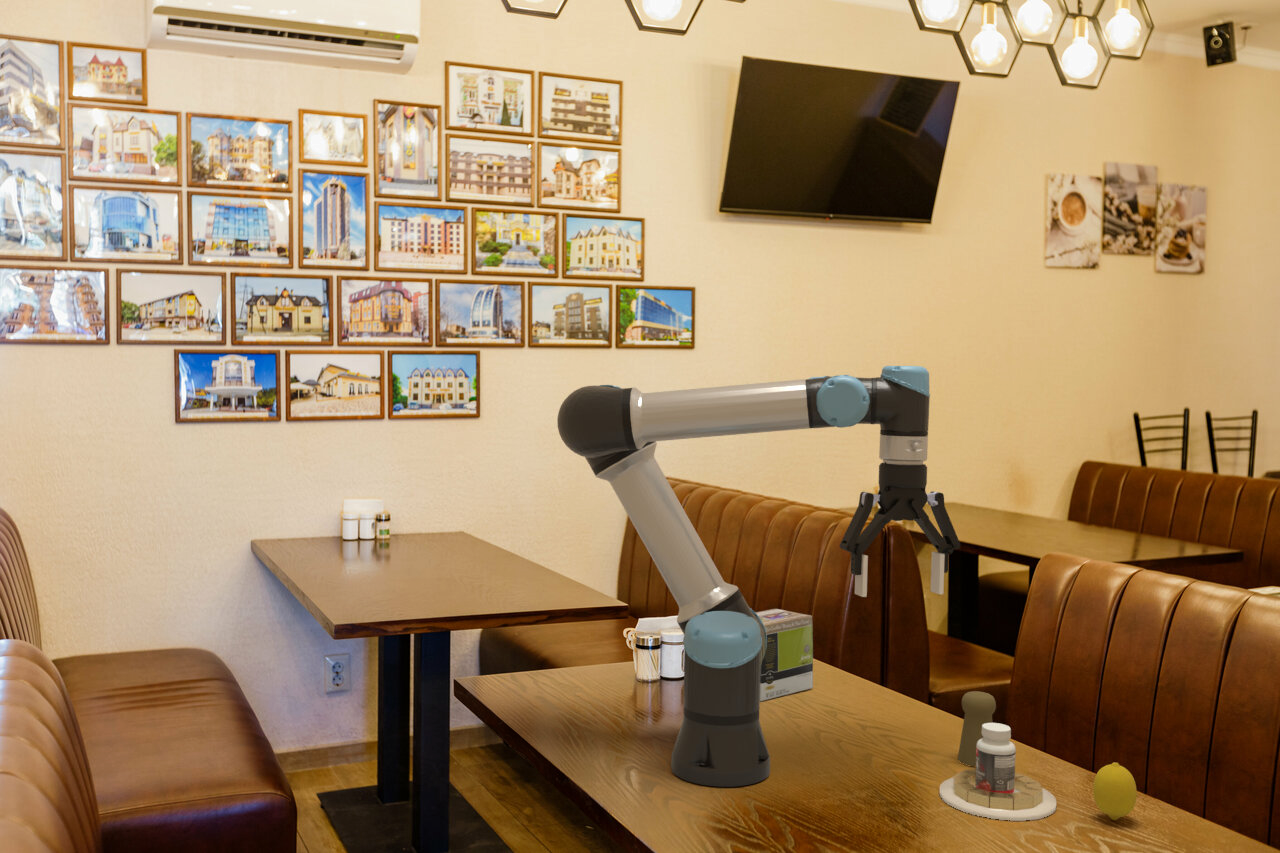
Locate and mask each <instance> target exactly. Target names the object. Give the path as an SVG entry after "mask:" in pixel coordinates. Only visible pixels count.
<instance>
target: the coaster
mask: <svg viewBox="0 0 1280 853" xmlns="http://www.w3.org/2000/svg"><path fill="white" fill-rule="evenodd" d="M974 786H976V785H974ZM1042 790H1043V802H1042V803H1040V804H1039V805H1037V806H1035V807H1034V808H1029V809H1021V810H1004V809H993V808H987V807H983V806H980V805H976V804H972V803H969V802H966V801H965V800H963V799H962V798H960V797H958V796H957V795H955V794H954V788H953V777H950V778H948V779H945V780H944V781H943V782H942V783H940V785H939V797H940V799H941V798H942V799H941V800H942V801H943V802H944V803H945V804H946V803H947V804H946V805H948V806H949V805H950V806H949V807H951V806H952V807H951V808H953V807H954V808H953V809H955V808H956V809H955V810H957V809H958V810H957V811H959V810H961V811H960V812H962V811H963V812H962V813H965V812H966V813H965V814H968V813H970V814H969V815H971V814H972V815H971V816H975V815H977V816H976V817H979V816H982V817H981V818H983V817H987V818H986V819H989V818H991V819H990V820H995V819H999V820H998V821H1004V820H1008V821H1007V822H1027V821H1026V820H1030V821H1036V820H1041V819H1044V817H1045V818H1048V817H1050V816H1051V814H1052V815H1053V814H1055V812H1056V811H1057V799H1056V797H1055V796H1054V795H1053V794H1052V793H1051V792H1050V791H1048V790H1047V789H1046V788H1044V787H1042ZM1017 792H1021V791H1019V790H1017V789H1015V788H1014V793H1017ZM1049 815H1050V816H1049ZM1047 816H1048V817H1047ZM1009 820H1010V821H1009Z"/></svg>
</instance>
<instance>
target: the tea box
mask: <svg viewBox="0 0 1280 853" xmlns="http://www.w3.org/2000/svg"><path fill="white" fill-rule="evenodd" d="M755 612H756V614H757V615H758V616H759V617H760V619H761V620H762V622H763V624H764V627H765V630H766V635H767V648H766V652H765V656H764V658H763V661H762V664H761V669H760V702H763V701H767V700H771V699H775V698H780V697H783V696H788V695H792V694H794V693H798V692H799V693H800V692H802V691H806V690H811V689H813V688H814V670H813V669H814V668H813V667H814V649H813V648H814V642H813V640H814V639H813V638H814V637H813V636H814V634H813V632H814V630H813V627H814V626H813V615H811V614H807V613H806V614H804V613H799V612H794V611H790V610H789V611H788V610H784V609H779V608H771V609H766V610H762V611H755Z"/></svg>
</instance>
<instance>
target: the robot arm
mask: <svg viewBox="0 0 1280 853" xmlns="http://www.w3.org/2000/svg"><path fill="white" fill-rule="evenodd" d="M930 397H931V394H930V372H929V371H928V369H927V368H925V367H924V366H920V365H918V366H917V365H886V366H883V367H882V369H881V373H880V376H879V377H877V376H876V377H855V376H851V375H850V374H840V375H839V374H838V375H834V376H829V375H823V376H811V377H810V378H804V379H791V380H782V381H781V380H780V381H769V382H760V383H758V382H757V383H747V384H735V385H724V386H723V385H722V386H710V387H702V388H700V387H699V388H690V389H678V390H668V391H667V390H666V391H665V390H664V391H655V392H644V393H643V392H642V391H641V390H639V389H638V388H637V387H628V388H621V387H620V386H617V385H614V384H600V385H587V386H583V387H580V388H577V389H576V390H573V392H571V393H570V394H568V396H567V397H566V398H565V399H564V400H563V401H562V403H561V405H560V407H559V409H558V412H557V429H558V434H559V437H560V438H561V440H562V442H563V443H564V444H565V446H566V447H567V448H568V449H569V450H570V451H572V453H573V454H574V453H575V454H576V455H578V456H580V457H584V458H585V459H586V462H587V463H588V465H589V467H590V468H591V470H592V472H593V474H594V476H595V477H596V478H598V479H601V480H604V481H607V482H608V483H609V484H610V486H611V487H612V489H613V491H614V493H615V495H616V496H617V497H618V500H619V501H620V503H621V505H622V507H623V509H624V511H625V512H626V514H627V516H628V518H629V519H630V521H631V523H632V525H633V527H634V528H635V531H636V533H637V534H638V535H639V536H638V537H639V538H640V539H641V541H642V543H643V544H644V546H645V548H646V550H647V551H648V553H649V555H650V557H651V559H652V561H653V562H654V565H655V566H656V568H657V570H658V572H659V574H660V575H661V577H662V579H663V580H664V582H665V584H666V586H667V588H668V589H669V591H670V593H671V595H672V596H673V598H674V600H675V602H676V603H677V606H678V609H679V610H678V614H677V617H676V622H677V624H678V626H679V628H680V631H682V633H683V635H684V636H683V637H682V638H683V640H682V642H683V649H684V660H683V662H684V665H683V666H684V667H683V668H684V669H683V670H684V673H683V677H684V678H683V718H682V722H681V726H680V728H679V732H678V733H677V734H678V735H677V737H676V740H675V743H674V745H673V749H672V752H671V764H670V765H671V766H670V767H671V772H672V773H673V775H675V776H677V777H678V778H680V779H682V780H684V781H687V782H690V783H692V784H697V785H701V786H702V785H703V786H710V787H720V788H721V787H722V788H724V787H726V788H727V787H728V788H729V787H743V786H750V785H753V784H757V783H759V782H760V783H761V781H764V780H766V779H767V778H768V777H769V776H770V773H771V756H770V753H769V749H768V747H767V744H766V740H765V736H764V733H763V729H762V726H761V722H760V706H761V705H760V704H761V703H760V702H761V701H760V669H761V664H762V661H763V658H764V656H765V652H766V648H767V635H766V630H765V627H764V624H763V622H762V620H761V619H760V617H759V616H758V615H757V614H756V612H757V611H754V610H753V609H752V608H751V607H750V606H749V605H748V603H747V600H746V599H745V596H743V593H742V592H741V589H740V588H739V587H738V586H737V585H735V584H731V583H727V582H725V581H724V579H723V577H722V575H721V573H720V571H719V570H718V568H717V566H716V564H715V563H714V561H713V559H712V557H711V555H710V554H709V552H708V550H707V549H706V547H705V545H704V543H703V542H702V539H701V538H700V536H699V534H698V533H697V530H696V529H695V527H694V526H693V523H692V522H691V520H690V518H689V516H688V515H687V513H686V510H684V508H683V506H682V504H681V503H680V501H679V499H678V497H677V495H676V494H675V493H676V492H674V490H673V488H672V486H671V485H670V482H669V481H668V480H667V477H666V476H665V473H664V472H663V471H662V470H663V469H661V467H660V465H659V463H658V461H657V460H656V458H655V452H656V448H657V442H663V441H674V440H675V441H676V440H688V439H698V438H699V439H700V438H711V437H723V436H724V437H725V436H735V435H747V434H759V433H772V432H773V433H774V432H782V431H783V432H784V431H795V430H809V429H824V428H834V427H835V428H848V427H849V428H851V427H855V425H867V424H868V425H879V426H880V429H879V449H878V450H879V451H878V455H879V459H880V460H882V462H880V464H879V465H878V488H879V489H878V492H877V494H876V493H872V492H867V491H861V492H860V495H859V501H858V506H857V508H856V510H855V512H854V513H853V517H852V519H851V520H850V522H849V525H848V526H847V528H846V530H845V532H844V535H843V537H842V539H841V541H840V543H839V548H840V549H841V550H844V551H846V552H849V554H850V573H851V575H855V576H854V595H857V596H859V597H862V598H867V595H868V594H867V593H868V566H869V564H868V563H869V555H866V554H864V553H865V551H867V549H868V548H869V547H870V546H871V544H872V543H873V542H874V541H875V539H876V538H877V537H878V536H879V534H880V533H881V531H882V530H883V529H884V528H885V526H886V525H887V524H889V523H890V522H892V521H895V522H899V521H900V522H901V521H904V520H905V521H910V522H911V521H914V522H915V523H916V524H917V525H918V526H919V527H918V528H920V529H921V531H922V532H923V533H924V535H925V536H926V537H927V539H928V540H929V542H930V543H931V544H932V546H933V547H934V549H936V551H931V560H930V561H931V564H930V565H931V568H930V592H931V593H935V594H937V595H944V590H945V589H944V588H945V587H944V585H945V584H944V583H945V582H944V581H945V573H948V571H949V563H950V562H949V560H950V559H949V557H950V555H951V554H953V552H954V550H959V549H960V548H961V542H960V540H959V538H958V535H957V533H956V530H955V528H954V525H953V523H952V521H951V518H950V516H949V514H948V512H947V509H946V507H945V506H946V505H945V495H944V493H943V492H939V491H934V490H933V491H932V490H931V491H930V492H929V493H927V491H926V488H927V483H928V466H927V465H926V463H925V464H924V462H925V461H927V460H928V449H929V448H928V446H929V444H928V443H929V420H930V417H929V416H930V402H931V401H930V400H931V399H930ZM877 504H878V505H879V508H878V510H877V511H876V512H875V513H874V514H873V519H871V521H869V523H868V524H867V526H866V527H865V525H866V523H867V521H868V519H869V517H870V515H871V513H872V511H873V507H875V506H876V505H877ZM926 504H928V505H929V506H930V509H931V512H932V514H933V516H934V519H935V522H936V524H937V526H938V529H939V530H938V529H937V528H936V526H935V525H934V523H933V522H932V521H931V520H930V517H929V515H928V514H927V512H926V511H925V509H924V507H925V506H926ZM939 531H940V532H939Z"/></svg>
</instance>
